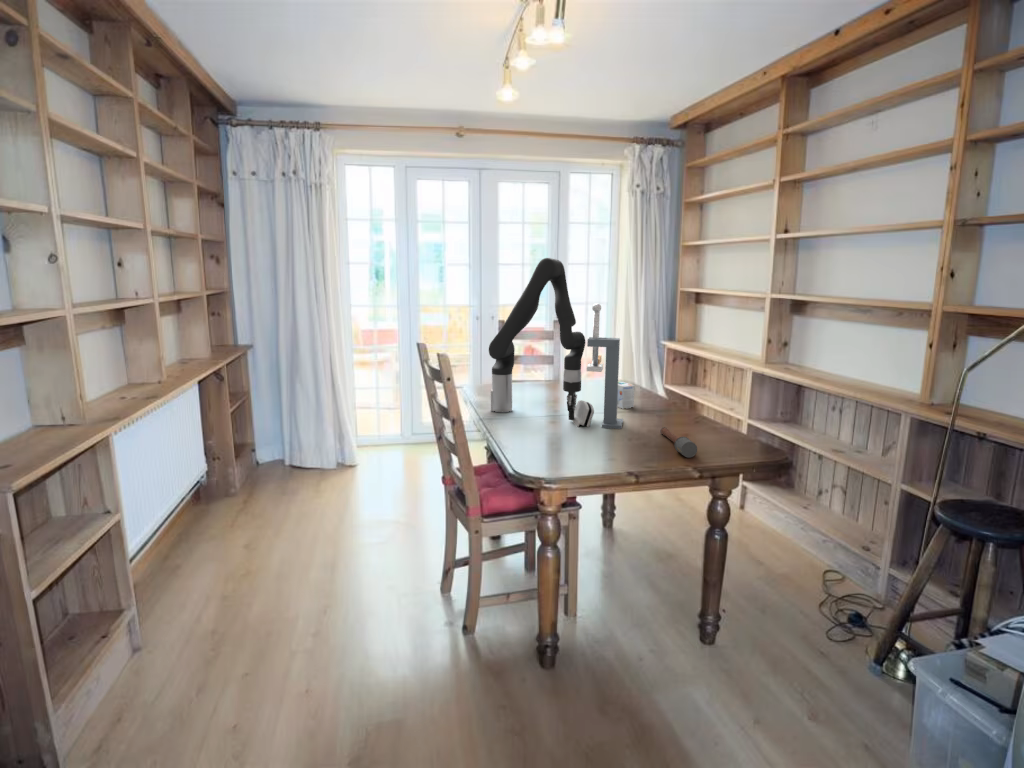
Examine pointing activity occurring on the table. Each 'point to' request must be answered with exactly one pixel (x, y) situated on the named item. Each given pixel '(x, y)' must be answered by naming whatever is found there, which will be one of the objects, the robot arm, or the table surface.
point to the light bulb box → (625, 395)
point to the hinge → (583, 413)
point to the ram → (596, 358)
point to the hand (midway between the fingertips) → (571, 419)
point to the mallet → (681, 443)
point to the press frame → (610, 380)
